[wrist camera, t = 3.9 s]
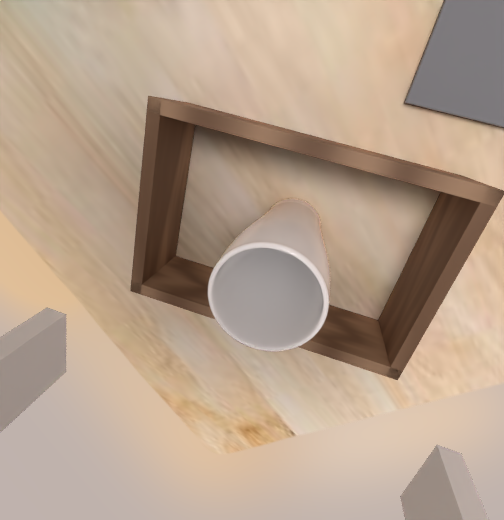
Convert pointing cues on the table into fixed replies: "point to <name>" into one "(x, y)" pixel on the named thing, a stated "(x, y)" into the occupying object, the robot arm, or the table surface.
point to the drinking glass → (274, 280)
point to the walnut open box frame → (338, 320)
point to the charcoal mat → (464, 63)
